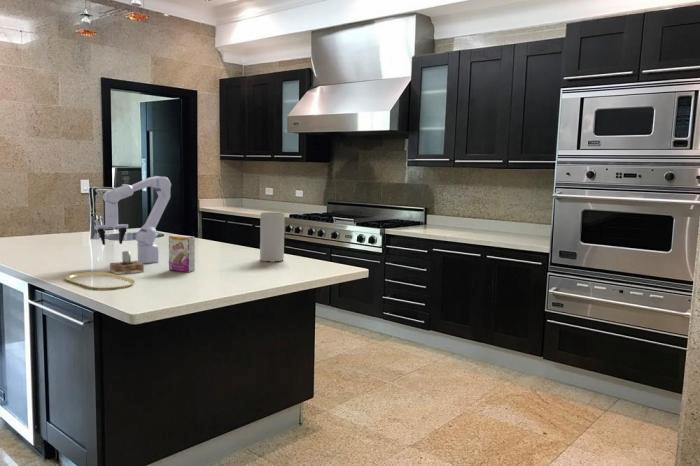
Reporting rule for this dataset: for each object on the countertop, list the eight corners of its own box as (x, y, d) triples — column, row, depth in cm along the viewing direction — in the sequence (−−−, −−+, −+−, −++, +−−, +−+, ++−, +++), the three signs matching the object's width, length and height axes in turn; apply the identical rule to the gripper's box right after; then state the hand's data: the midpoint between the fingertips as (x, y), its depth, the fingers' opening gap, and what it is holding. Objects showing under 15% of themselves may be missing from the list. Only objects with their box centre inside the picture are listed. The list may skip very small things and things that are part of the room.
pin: (129, 268, 253) (129, 250, 252) (131, 269, 250) (131, 252, 249) (121, 268, 250) (121, 251, 249) (123, 270, 248) (123, 252, 247)
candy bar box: (168, 270, 255) (168, 235, 253) (175, 268, 260) (174, 234, 258) (188, 272, 251) (188, 237, 249) (195, 270, 256) (195, 236, 254)
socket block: (137, 268, 258) (137, 260, 257) (143, 271, 250) (143, 264, 249) (110, 270, 251) (110, 263, 250) (115, 274, 243) (115, 266, 242)
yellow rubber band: (100, 273, 245) (100, 270, 245) (143, 286, 224) (143, 282, 224) (57, 279, 231) (57, 276, 230) (99, 293, 209) (99, 289, 209)
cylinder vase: (268, 263, 282) (268, 214, 279) (255, 259, 291) (256, 212, 288) (288, 260, 290) (289, 214, 287) (275, 257, 300) (275, 212, 297)
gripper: (97, 217, 252) (97, 246, 254) (129, 216, 261) (130, 244, 262) (93, 215, 258) (94, 244, 259) (125, 214, 266) (126, 242, 268)
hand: (112, 244), depth 261 cm, fingers open, 7 cm apart
